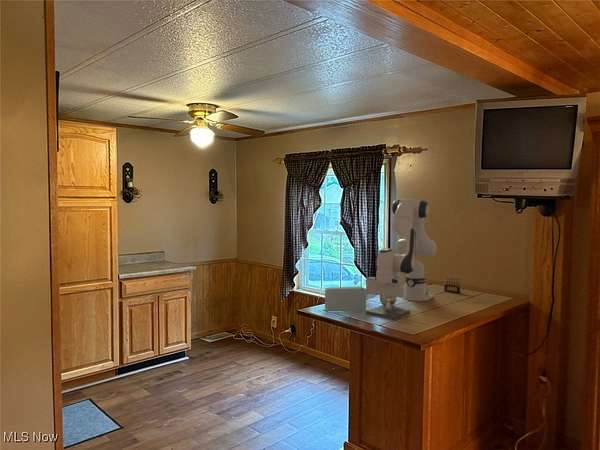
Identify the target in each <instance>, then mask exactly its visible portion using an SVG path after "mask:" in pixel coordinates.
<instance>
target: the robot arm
mask: <svg viewBox="0 0 600 450" xmlns="http://www.w3.org/2000/svg"><path fill="white" fill-rule="evenodd" d="M429 205H430V204H429V203H428V201H425V200H419V199H401V198H399V199H398V198H397V199H395V200H394V201H393V202H392V205H391V211H392V213H393V218H392V223H391V228H392V231H393V232H394V234H396V235H398V236H399V237H401V239H398V240H397V241H396V243H395V251H396V253H394V250H393V249H392V248H388V247H387V248H386V247H384V248H380V249H379V250H378V252H377V258H376V266H377V270H376V277H370V276H369V277H367V278H365V289H366V291H365V292H366V295H372V296H379V300H380V299H381V301H382V303H381V304H382V305H383V304H386V300H387V299H388V296H391V297H396V298H403V299H404V300H408V301H414V302H415V301H416V302H420V301H421V302H423V301H424V302H428V301H430V300H432V299H433V298H434V295H433V294H430V292H431V291H430V287H429V286H428V285H427V284H426V281H427V276H425V275H424V274H425V266H424V264H423V263H422V262H421V261H419V260H417V259H416V257H432V256H434V255H435V254H436V252H437V248H438V247H437V244H436V242H435V241H434V240H433V239H432V238H430V237H429V236H428V234H427V233H426V229H425V218H426V217H428V215H429V213H430V206H429ZM393 271H395V272H396V273H397V272H398V273H402V274H403V273H404V274H406V275H405V280H404V281H405V283H404V284H403V283H402V278H401V277H398V276H397V275H396V276H394V275H393ZM383 296H385V298H386V299H385V300H383V298H382V297H383ZM381 301H380V302H381Z"/></svg>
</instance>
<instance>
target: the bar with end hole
mask: <svg viewBox="0 0 600 450" xmlns="http://www.w3.org/2000/svg"><path fill="white" fill-rule="evenodd" d="M324 289H325V290H324V309H325V311H327V312H328V311H345V312H364V311H366V309H367V294H366V292H365V291H366V287H363V286H362V285H361V286H342V287H341V286H335V287H333V286H332V287H331V286H329V287H326V288H324Z"/></svg>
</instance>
